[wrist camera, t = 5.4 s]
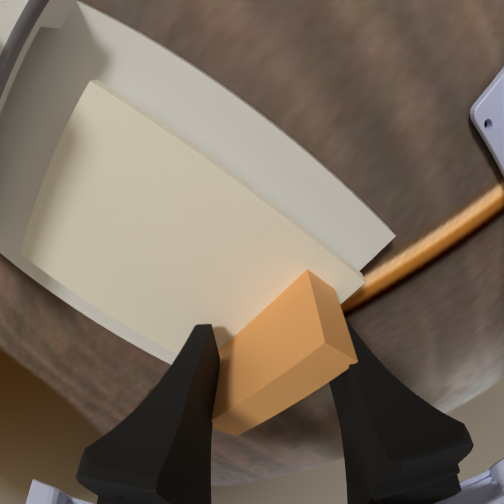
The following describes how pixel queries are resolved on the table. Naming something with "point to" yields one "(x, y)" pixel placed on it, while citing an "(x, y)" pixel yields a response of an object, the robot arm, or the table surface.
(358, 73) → the table surface
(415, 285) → the table surface
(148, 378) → the table surface
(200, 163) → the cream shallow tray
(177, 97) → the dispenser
